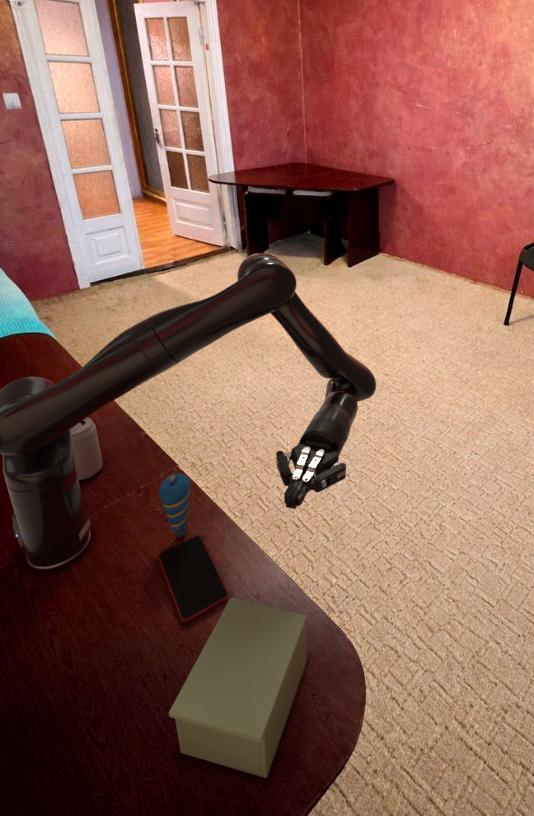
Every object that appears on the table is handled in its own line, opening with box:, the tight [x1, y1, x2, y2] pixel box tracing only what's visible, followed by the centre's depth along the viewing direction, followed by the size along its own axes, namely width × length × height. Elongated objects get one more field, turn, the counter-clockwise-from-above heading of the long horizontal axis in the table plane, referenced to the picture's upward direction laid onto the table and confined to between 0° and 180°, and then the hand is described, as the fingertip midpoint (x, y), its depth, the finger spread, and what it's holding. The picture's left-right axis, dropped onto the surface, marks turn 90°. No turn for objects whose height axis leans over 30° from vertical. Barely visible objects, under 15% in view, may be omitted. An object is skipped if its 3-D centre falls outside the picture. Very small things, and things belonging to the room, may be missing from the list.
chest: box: [174, 620, 308, 779], centre depth 64 cm, size 14×12×9 cm
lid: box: [168, 597, 308, 743], centre depth 62 cm, size 14×12×1 cm
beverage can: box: [70, 416, 104, 481], centre depth 101 cm, size 6×6×12 cm
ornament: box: [158, 473, 191, 538], centre depth 87 cm, size 5×5×15 cm
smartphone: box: [157, 534, 229, 623], centre depth 82 cm, size 7×1×15 cm
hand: (290, 504), depth 73 cm, fingers closed
